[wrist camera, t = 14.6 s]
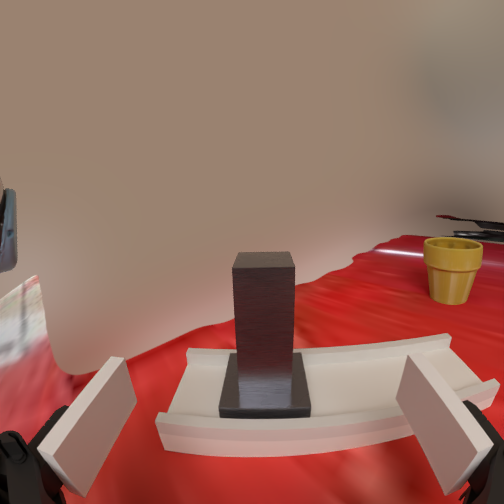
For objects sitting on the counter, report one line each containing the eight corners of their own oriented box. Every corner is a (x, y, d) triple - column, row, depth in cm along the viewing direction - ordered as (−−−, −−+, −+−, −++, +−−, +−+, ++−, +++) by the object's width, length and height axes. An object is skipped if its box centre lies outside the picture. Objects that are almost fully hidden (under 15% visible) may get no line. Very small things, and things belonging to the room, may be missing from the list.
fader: (220, 421, 17) (204, 275, 15) (231, 366, 24) (223, 248, 22) (309, 420, 17) (322, 273, 15) (300, 365, 24) (304, 247, 21)
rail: (164, 450, 16) (154, 421, 16) (192, 375, 26) (188, 347, 25) (486, 413, 15) (500, 384, 14) (440, 358, 25) (447, 333, 24)
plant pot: (454, 319, 33) (463, 251, 31) (407, 299, 42) (411, 240, 41) (485, 302, 35) (492, 243, 33) (443, 287, 45) (447, 235, 43)
